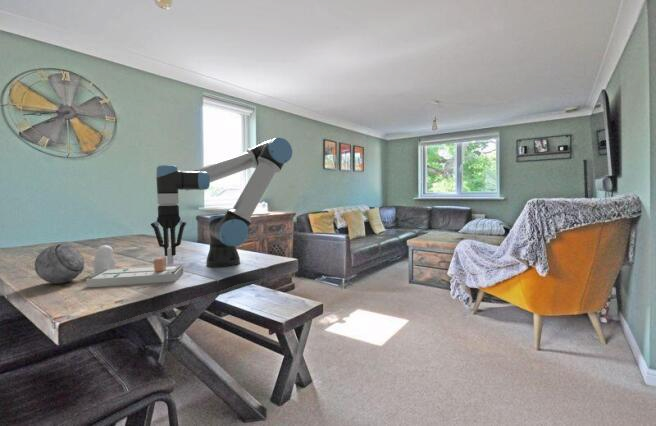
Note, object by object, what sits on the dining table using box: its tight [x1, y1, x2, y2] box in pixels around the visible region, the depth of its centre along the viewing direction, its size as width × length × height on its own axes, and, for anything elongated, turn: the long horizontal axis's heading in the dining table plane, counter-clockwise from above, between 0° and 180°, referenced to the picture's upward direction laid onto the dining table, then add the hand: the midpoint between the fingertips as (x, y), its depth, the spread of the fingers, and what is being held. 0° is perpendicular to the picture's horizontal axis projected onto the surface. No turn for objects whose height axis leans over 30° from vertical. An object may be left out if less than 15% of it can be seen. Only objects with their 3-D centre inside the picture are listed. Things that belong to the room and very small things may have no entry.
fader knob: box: [153, 256, 167, 272], centre depth 131 cm, size 3×5×5 cm, turn 12°
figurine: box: [93, 244, 117, 274], centre depth 140 cm, size 7×8×12 cm
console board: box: [85, 264, 184, 288], centre depth 130 cm, size 30×14×4 cm, turn 102°
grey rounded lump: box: [34, 243, 85, 284], centre depth 126 cm, size 15×14×15 cm
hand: (170, 263), depth 132 cm, fingers closed
